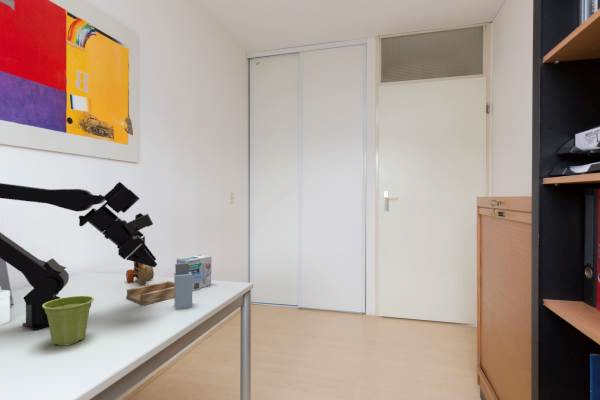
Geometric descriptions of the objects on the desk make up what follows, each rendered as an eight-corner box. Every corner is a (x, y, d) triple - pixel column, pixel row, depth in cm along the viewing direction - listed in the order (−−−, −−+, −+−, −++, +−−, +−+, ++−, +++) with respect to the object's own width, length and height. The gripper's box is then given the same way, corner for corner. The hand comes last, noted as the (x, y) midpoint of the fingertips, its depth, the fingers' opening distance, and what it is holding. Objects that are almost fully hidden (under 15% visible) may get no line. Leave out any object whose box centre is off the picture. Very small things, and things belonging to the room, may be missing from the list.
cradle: (143, 305, 99) (143, 295, 99) (126, 298, 106) (126, 289, 106) (185, 294, 110) (185, 285, 110) (167, 289, 117) (167, 280, 117)
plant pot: (44, 337, 76) (44, 299, 76) (93, 329, 81) (93, 293, 81) (40, 353, 68) (40, 311, 68) (94, 342, 73) (94, 303, 73)
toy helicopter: (147, 277, 134) (147, 243, 134) (163, 288, 118) (163, 249, 118) (125, 281, 129) (125, 245, 129) (138, 292, 113) (138, 251, 113)
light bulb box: (188, 292, 113) (188, 260, 113) (175, 289, 117) (175, 258, 117) (212, 285, 122) (212, 255, 122) (199, 282, 126) (199, 254, 126)
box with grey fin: (175, 309, 95) (175, 265, 95) (174, 305, 99) (174, 263, 99) (192, 307, 97) (192, 264, 97) (190, 303, 101) (190, 261, 101)
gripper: (133, 204, 84) (179, 245, 89) (135, 203, 101) (174, 238, 106) (96, 237, 81) (147, 278, 86) (105, 230, 98) (146, 265, 103)
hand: (155, 263), depth 95 cm, fingers open, 9 cm apart
